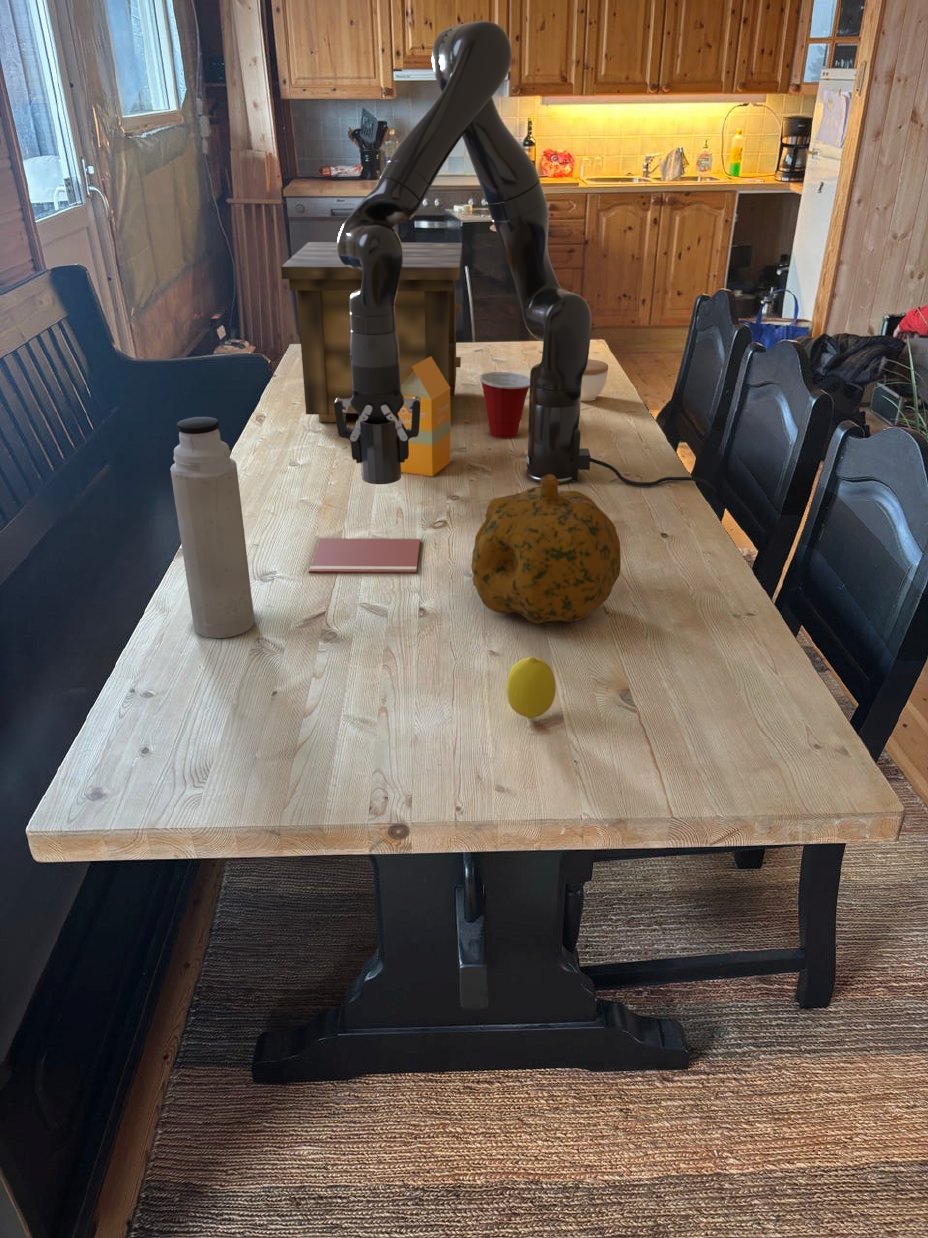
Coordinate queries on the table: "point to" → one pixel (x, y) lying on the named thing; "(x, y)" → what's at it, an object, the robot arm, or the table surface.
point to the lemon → (531, 687)
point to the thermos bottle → (211, 530)
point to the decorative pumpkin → (545, 554)
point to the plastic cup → (504, 401)
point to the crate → (327, 316)
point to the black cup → (379, 453)
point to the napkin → (366, 556)
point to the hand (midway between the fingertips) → (380, 461)
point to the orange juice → (427, 419)
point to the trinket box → (593, 379)
